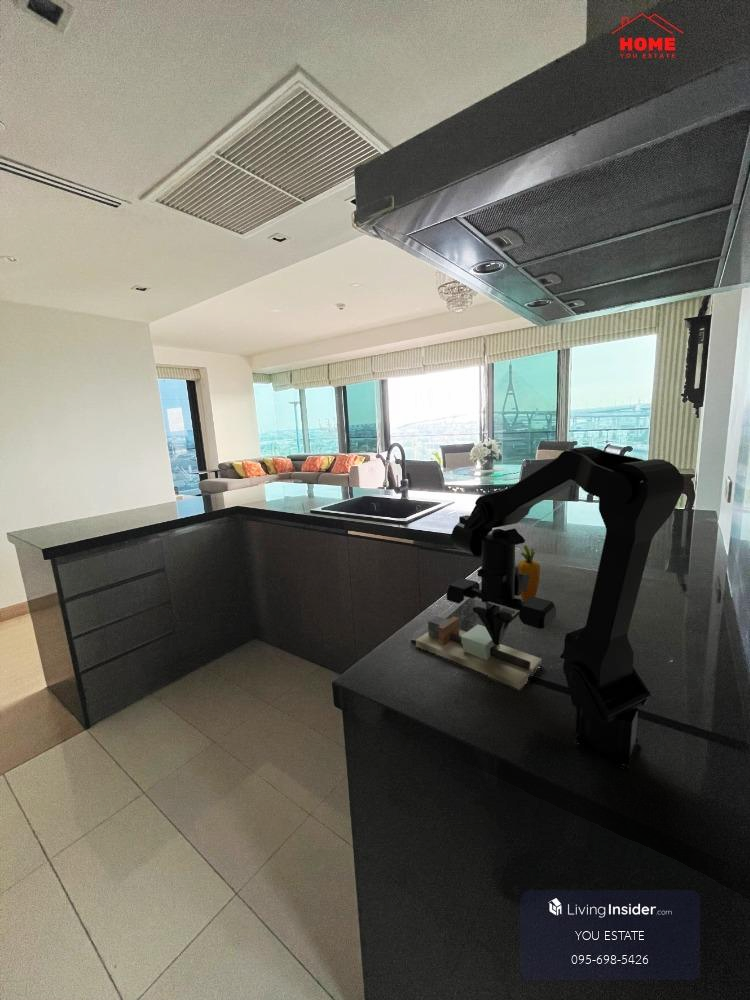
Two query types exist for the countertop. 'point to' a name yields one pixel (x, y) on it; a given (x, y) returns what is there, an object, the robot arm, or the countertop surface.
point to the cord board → (499, 666)
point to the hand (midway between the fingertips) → (497, 644)
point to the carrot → (529, 569)
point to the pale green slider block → (478, 642)
